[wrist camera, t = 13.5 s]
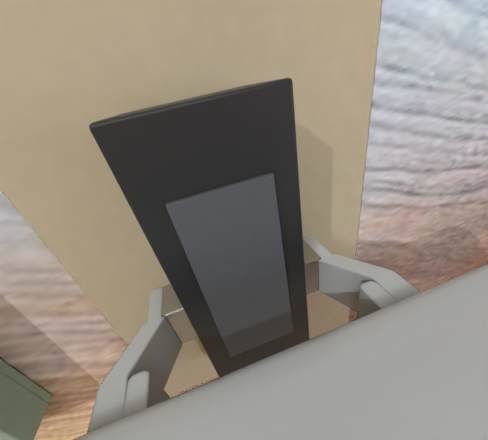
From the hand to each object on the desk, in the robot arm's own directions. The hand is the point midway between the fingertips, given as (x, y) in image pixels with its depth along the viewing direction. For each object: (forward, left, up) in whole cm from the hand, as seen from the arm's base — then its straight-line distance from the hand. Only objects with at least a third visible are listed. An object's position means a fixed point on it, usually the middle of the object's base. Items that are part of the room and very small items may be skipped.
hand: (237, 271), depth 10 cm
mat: (0, 0, -2) cm, 2 cm away
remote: (0, 0, -1) cm, 1 cm away
